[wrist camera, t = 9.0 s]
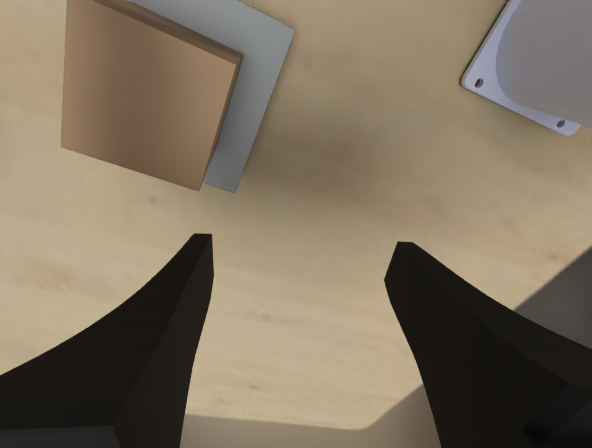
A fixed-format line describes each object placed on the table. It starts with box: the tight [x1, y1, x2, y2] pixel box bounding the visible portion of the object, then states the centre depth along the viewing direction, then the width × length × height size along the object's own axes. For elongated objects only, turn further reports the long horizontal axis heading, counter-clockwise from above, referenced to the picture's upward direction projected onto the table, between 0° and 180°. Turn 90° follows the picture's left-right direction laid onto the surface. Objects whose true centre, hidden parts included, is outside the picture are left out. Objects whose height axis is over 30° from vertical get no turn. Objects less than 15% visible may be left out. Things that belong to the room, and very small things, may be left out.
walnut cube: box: [61, 0, 244, 191], centre depth 13 cm, size 5×5×5 cm
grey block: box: [126, 0, 295, 193], centre depth 16 cm, size 9×9×4 cm
